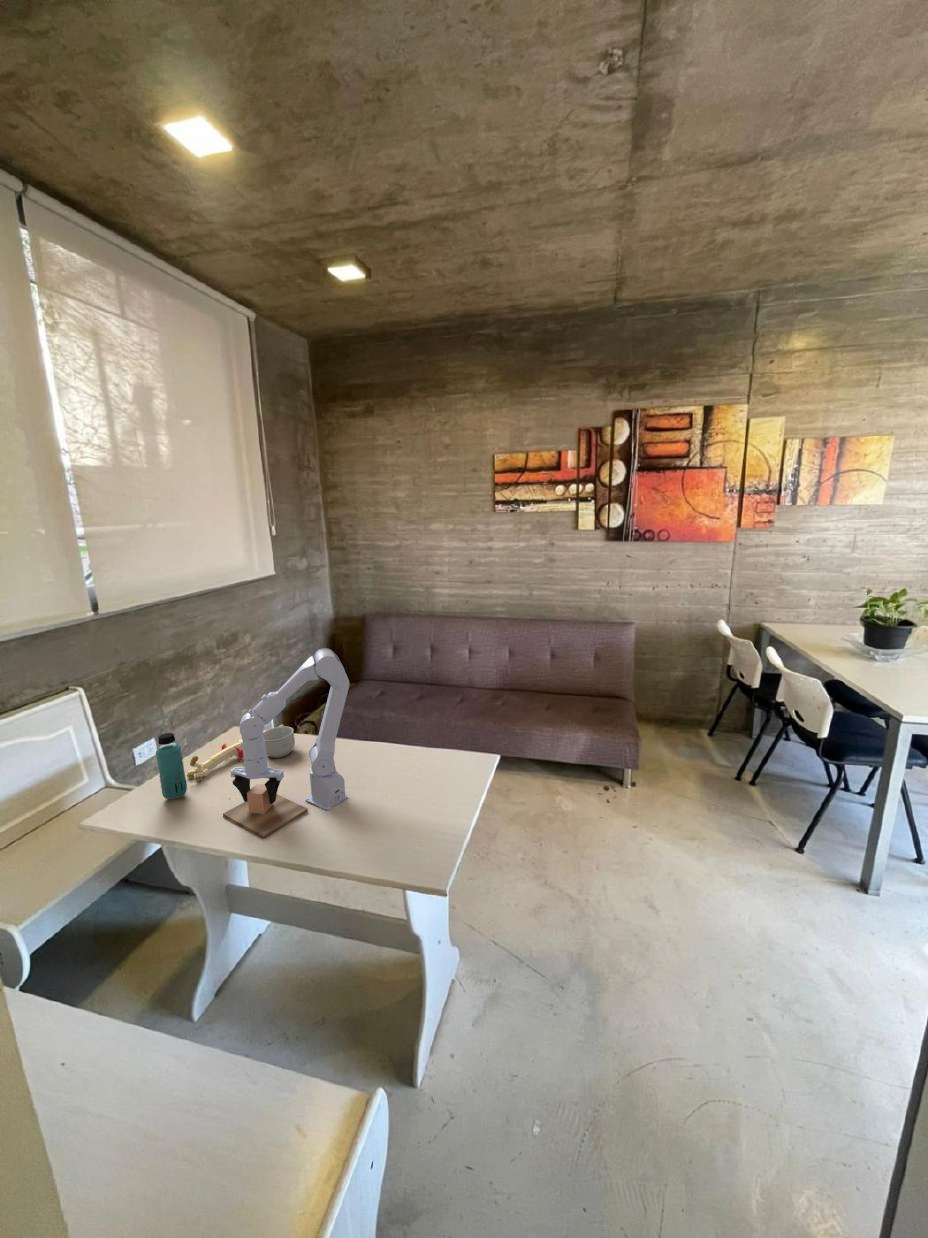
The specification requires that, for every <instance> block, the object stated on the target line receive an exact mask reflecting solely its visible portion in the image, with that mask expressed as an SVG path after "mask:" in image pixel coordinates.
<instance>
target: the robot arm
mask: <svg viewBox="0 0 928 1238" xmlns="http://www.w3.org/2000/svg"><path fill="white" fill-rule="evenodd" d="M345 670H346V669H345V668H344V666H343V664H342V662H341V660H340V658H339V656H338V655H337V653H335V652H334V651H333V650H332V649H330V648H326V647H325V648H323V647H322V648H319V649H318V650H316V651H315V653H314V655H311V656H309V657H308V658H307V659H306V661H304V663H302V665H300V666H299V668H298V669H297V670H296V671H295V672H294V673H293V674H292V675H290V677H289V678H288V679H287V681H285V683H284V684H283V685H282V686H281V687H280V688H279V689H278V690H277V691H270V692H269V693H267V694H263V695H262V696H260V697H261V700H260V701H259V702H258V703H257V704H256V705H255V706H254V707H253V708H249V710H248V711H247V712H246V713H244V715H242V717H241V719H240V722H239V733H240V735H241V739H242V740H243V741H242V748H243V756H244V757H243V764H244V766H242V767H236V766H235V767H233V768H232V769H231V770H230V777H231V778H234V779H232V785H233V786H234V787H235V788H236V789H237V790H238V792H239V793H240V795H241V797H242V799H243V801H244V802H247V801H248V798H247V792H248V791H250V790H251V780H257V779H258V780H259V779H268V780H267V781H266V782H265V783H264V785H265V787H266V789H267V792H268V796H269V803H270V804H273V803H274V802H275V801H276V795H278V791H279V787H280V784H281V781H282V780H283V778H284V777H285V776H284V770H279V769H277V768H273V767H270V766H268V755H266V746H265V738H264V736H263V733H264V732H265V731H264V730H265V727H266V725H268V724H270V722H271V721H272V720H273V719H275V718H276V716H278V715H279V714H280V713H281V712H282V711H283V710H284V709H285V708H286V705H287V703H286V701H287V700H289V698H290V697H291V696H293V694H294V693H296V691H298V690H299V689H300V688H301V687H302V686H303V685H304V684H306V683H307V682H309V681H318V680H319V677H320V678H322V679H324V680H325V681H327V683H328V684H329V685H330V688H329V691H328V692H329V693H328V696H327V701H326V704H325V708H324V712H323V714H322V715H323V716H322V719H321V724H320V728H319V732H318V735H317V737H316V738H315V741H314V743H313V744H312V746H311V747H310V749H309V750H308V751H309V752H308V755H309V756H308V757H309V759H310V765H311V767H310V768H309V781H310V782H309V783H310V791H311V795H309V796H307V797H306V798H304V800H305V802H307V803H309V804H311V805H314V806H315V807H318V808H321V809H323V810H325V811H329V810H330V809H332V808H334V807H335V806H336V805H338V804H340V803H341V802H343V801H344V800H345V799H347V798H348V796H349V795H347V794H346V787H345V778H344V777H343V776H342V775H341V774H340V773H338V771H337V769H336V765H335V763H336V762H335V759H334V756H335V751H336V750H335V749H336V739H337V735H338V731H339V728H340V724H341V720H342V716H343V711H344V708H345V704H346V700H347V696H348V692H349V688H350V680H349V678H348V675H347V673H346V671H345ZM244 802H243V803H244Z"/></svg>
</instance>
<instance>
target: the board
mask: <svg viewBox="0 0 928 1238" xmlns="http://www.w3.org/2000/svg"><path fill="white" fill-rule="evenodd" d="M308 812H309V809H308V808H307V807H306V806H303V805H301V804H299V803H296V802H295V801H293V800H290V799H289V798H286V797H283V796H282V795H279V794H277V795H276V801H275V802H274V803H273V805H272V806H271V807H270V808H269V809H268V811H267V812H266V813H265V814H259V813H249V807H248V801H247V802H242V803H240V804H238V805H236V806H235V807H233V808H231V809H229V810H227V811H225V812H223V813H222V818H225V819H226V820H228V821H230V822H232V823H234V824H235V825H236V826H239V827H240V828H243V829H244V830H246V831H248V832H249V833H252V834H253V835H256V836H257V837H259V838H261V839H263V840H265V839H266V838H268V837H270V836H271V835H273V834H274V833H276V832H278V831H279V830H281V829H283V828H284V827H286V826H288V825H289V824H291V823H292V822H293V821H296V820H297V819H298V818H300V817H302V816H303V815H305V814H306V813H308Z"/></svg>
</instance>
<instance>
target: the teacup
mask: <svg viewBox="0 0 928 1238" xmlns="http://www.w3.org/2000/svg"><path fill="white" fill-rule="evenodd" d="M294 731H295V730H294V727H290V726H286V725H284V724H279V726H276V727H272V728H270V729H267V730H265V731H263V736H264V738H265V746H266V755H267V757H271V758H274V759H277V758H282V757H283V758H284V757H285V756H288V755H289V754H290V753H291V752H292V751H293V749H294V748H295V746H296V745H295V744H296V743H295V732H294Z"/></svg>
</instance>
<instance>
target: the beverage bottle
mask: <svg viewBox="0 0 928 1238" xmlns="http://www.w3.org/2000/svg"><path fill="white" fill-rule="evenodd" d="M175 741H176V737H175V734H174V733H173V732H166V733H162V734H160V735H158V741H157V743H158V745H160V746H159V747H158V748H157V749H156V751H155V755H156V761H157V768H158V772H159V782H160V788H161V795H162V797H163V798H164V799H167V800H173V799H174V800H175V799H177V798H180V797H182V796H184V795H185V794H186V793H187V789H188V784H187V779H186V778H187V776H186V774H185V773H186V772H185V768H184V767H185V764H184V759H183V753H182V749H181V745H180V744H178V743H176V742H175Z"/></svg>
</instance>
